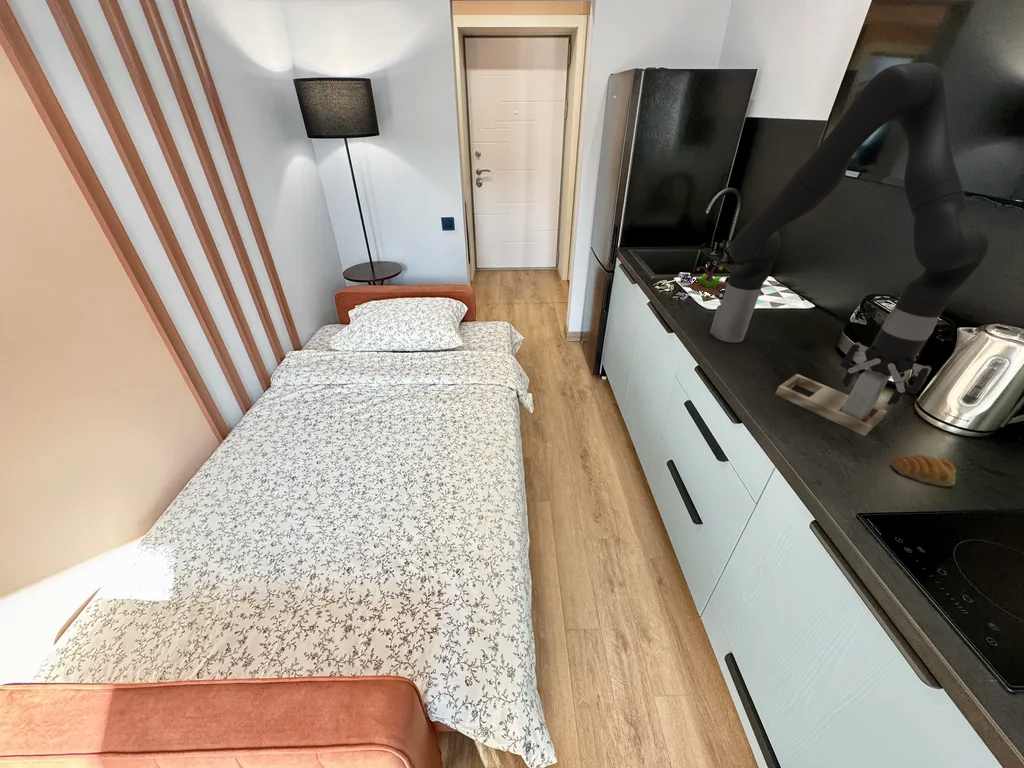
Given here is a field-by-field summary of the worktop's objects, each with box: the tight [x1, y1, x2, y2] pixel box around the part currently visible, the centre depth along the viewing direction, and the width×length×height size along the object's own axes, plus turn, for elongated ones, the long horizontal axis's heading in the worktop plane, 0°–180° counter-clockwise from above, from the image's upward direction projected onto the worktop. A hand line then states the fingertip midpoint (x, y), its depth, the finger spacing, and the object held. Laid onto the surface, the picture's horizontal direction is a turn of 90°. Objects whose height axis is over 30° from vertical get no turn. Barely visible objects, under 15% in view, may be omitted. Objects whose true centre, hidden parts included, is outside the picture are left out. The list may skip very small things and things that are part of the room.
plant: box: [688, 264, 727, 295], centre depth 163 cm, size 20×20×11 cm
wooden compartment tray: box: [774, 373, 888, 437], centre depth 103 cm, size 20×10×2 cm, turn 36°
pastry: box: [890, 454, 957, 487], centre depth 84 cm, size 9×7×4 cm
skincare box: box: [841, 367, 891, 421], centre depth 96 cm, size 6×4×12 cm
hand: (867, 394), depth 95 cm, fingers open, 8 cm apart
